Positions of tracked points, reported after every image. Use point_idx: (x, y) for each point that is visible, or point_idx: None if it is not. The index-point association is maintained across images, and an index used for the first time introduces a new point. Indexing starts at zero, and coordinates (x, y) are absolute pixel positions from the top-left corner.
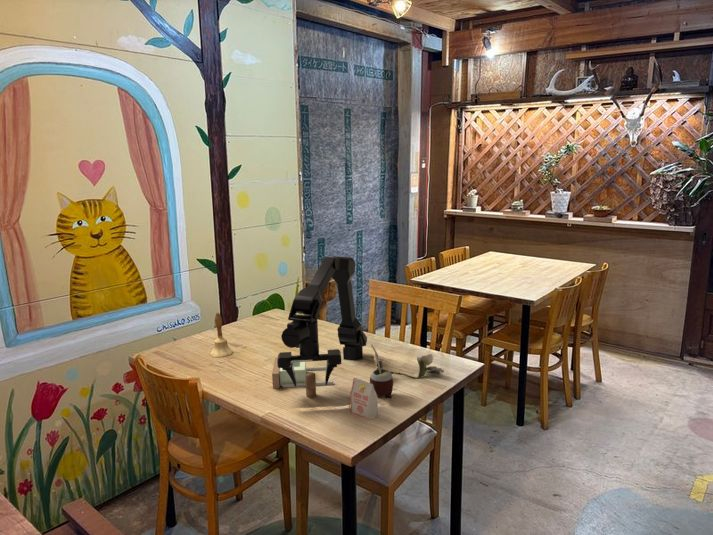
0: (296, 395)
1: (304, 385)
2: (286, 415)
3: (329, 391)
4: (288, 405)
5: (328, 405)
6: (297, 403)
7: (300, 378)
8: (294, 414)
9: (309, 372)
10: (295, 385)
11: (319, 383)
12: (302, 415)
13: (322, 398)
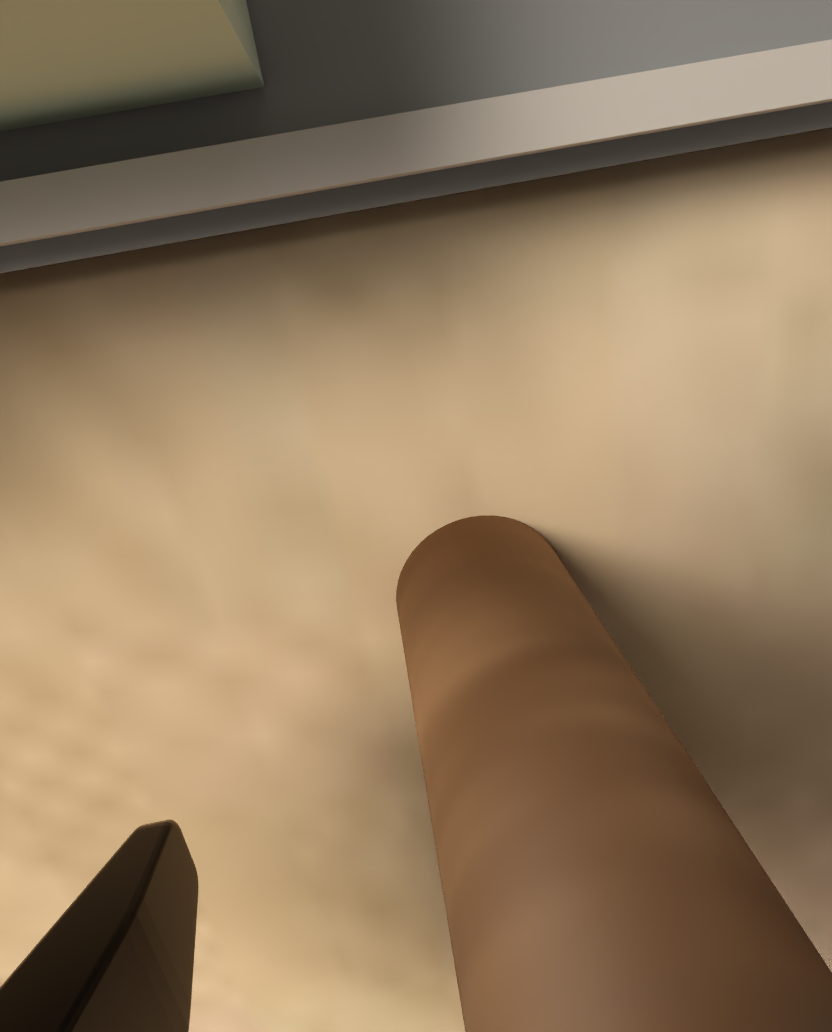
0: (173, 486)
1: (260, 204)
2: (224, 1005)
3: (795, 283)
4: (157, 804)
5: (747, 745)
6: (280, 740)
7: (77, 78)
8: (320, 976)
9: (641, 989)
10: (182, 920)
11: (648, 132)
12: (427, 980)
13: (662, 560)
